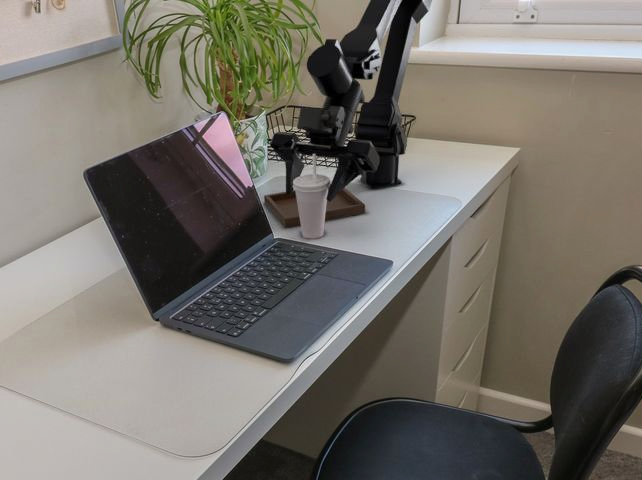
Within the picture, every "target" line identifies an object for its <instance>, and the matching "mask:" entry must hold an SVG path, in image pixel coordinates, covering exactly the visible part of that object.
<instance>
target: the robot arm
mask: <svg viewBox="0 0 642 480" xmlns="http://www.w3.org/2000/svg"><path fill="white" fill-rule="evenodd" d="M432 3H433V0H369V2H368V4H367V6H366V8H365V10H364V12H363V15H361V16H362V17H361V18H360V21H359V22H358V24H357V25H356V27H355V28H354V29H352V30H351V31H349V32H348V33H346V34H345V35H344V36H343V37H342V38H341V40H340V41H339V39H337V38H326V39H325V42H324V44H322V45H321V46H318V47H317V48H316V49H315V50H313V52H311V54H310V55H309V56H308V57H307V60H306V69H307V72H308V74H309V75H310V77H311V79H312V81H313V82H314V84H315V85H316V88H317V89H318V91H319V93H320V94H321V95H322V96H324V97H325V98H324V102H323V104H322V107H317V108H312V107H311V108H310V107H300V108H299V113H298V120H297V125H296V129H297V130H302V131H305V132H304V136H305V137H306V139H309V140H310V141H309V142H307V141H301V139H300V138H299V137H298V134H296V133H295V132H287V131H277V132H275V133H274V134H273V135H272V138H271V140H270V142H269V146H271V148H272V149H273V151H274V152H275V153H276V154H277V156H278V157H279V158H280V160H282V161H284V165H285V192H286V194H287V195H288V196H290V195H291V193H292V192H293V190H295V189H294V188H293V180H294V179H295V178H297V177H300V176H302V173H303V171H304V168H305V166H306V165H305V164H304V162H303V161H302V160H304V157H305V155H307V156H313V154H314V153H315V154H316V157H326V158H333V159H337V167H336V170H335V172H334V175H333V178H332V181H331V182H330V184H331V185H330V188H329V191H328V194H327V201H328V202H331V201H332V200H333V199H334V198H335V197H336V196H337V195H338V194H339V193H340V192H341V191H342V190H343V189H344V188H346V187H347V186H348V185H349V184H351V183H352V182H353V181H354V180H356V179H357V178H358V177H359V176H361V177H359V180H360V182H362V183H364V184H365V185H367V187H369V188H370V189H371V190H372V189H373V190H375V189H381V188H385V187H386V188H387V187H391V186H397V185H401V184H402V180H400V179H399V164H400V156H403V155H405V154H406V149H407V146H408V137H407V135H406V133H405V130H404V128H403V126H402V125H403V116H402V113H401V109H400V105H399V99H400V96H401V91H402V87H403V83H404V80H405V75H406V70H407V67H408V63H409V58H410V55H411V50H412V46H413V42H414V38H415V34H416V29H417V26H418V24H419V23H420V22H421V20H422V19H424V17H425V16H426V15H427V14H428V13H429V11H430V10H431V9H430V8H431V6H432ZM388 29H389V30H388ZM387 31H388V35H387V38H386V43H385V47H384V52H382V49H381V45H382V42H383V40H384V38H385V36H386V33H387ZM377 73H378V77H377V81H376V85H375V89H374V94H373V96H372V97H371V99H370V100H369V101H366V100H365V97H366V96H365V94H364V90H363V86H362V85H361V84H360V82H359V81H358V80H362V81H363V80H364V81H365V80H366V81H370V80H373V79H374V78H375V77H376V75H377ZM360 104H361V106H360V112H359V116H358V118H357V121H356V123H355V124H356V125H355V127H354V126H353V125H352V124H353V122H354V119H355V116H356V113H357V111H358V107H359V105H360ZM353 132H354V138H351V139H349V140H348V141H347V138H348V136H349V134H350V135H353ZM346 141H347V144H346V146H345V143H346Z"/></svg>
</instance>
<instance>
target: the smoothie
mask: <svg viewBox="0 0 642 480" xmlns="http://www.w3.org/2000/svg"><path fill="white" fill-rule="evenodd" d="M330 184H331V178H330V177H329V176H328V175H325V174H319V173H318V174H317V156H316V154H315V153H314V154H313V155H312V174H311V173H310V174H303V175H300V177H297V178H295V179H294V180H293V188H294V190H295V192H296V198H297V205H298V211H299V217H300V223H301V225H300V229H301V236H302V237H303V238H305V239H318V238H321V237H322V236H323V235H324V231H325V222H326V221H325V213H326V204H327V194H328V188H329V187H330Z"/></svg>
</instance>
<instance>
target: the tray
mask: <svg viewBox="0 0 642 480" xmlns="http://www.w3.org/2000/svg"><path fill="white" fill-rule="evenodd" d="M330 185H331V183H330ZM329 188H330V187H329ZM329 188H328V191H329ZM263 198H264V199H263V201H264V206H266V207H267V209H269V211H270V212H271V213H272V214H273V215H274V216H275V218H276V219H277V220H278V221H279V222H280V223H281V224H282V226H283V227H284V228H285V229H288V228H292V227H298V226H301V223H300V217H299V211H298V205H297V198H296V192H295V189H294V190H293V192H292V193H291V195H290V196H288V195H287V194H286V191H281V192H276V193H275V192H274V193H270V194H269V193H268V194H264V195H263ZM364 214H366V204H365V203H364V202H362V201H361V200H360V199H359V198H358V197H357V196H355V194H353V193H352V192H350V191H349V190H348V189H347V188H346V187H345V188H344V189H343V190H342V191H341V192H340V193H339V194H338V195H337V196H336V197H335V198H334V199H333V200H332V201H331V202H328V201H327V204H326V213H325V222H326V221H330V220H337V219H341V218H347V217H354V216H359V215H364Z"/></svg>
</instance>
